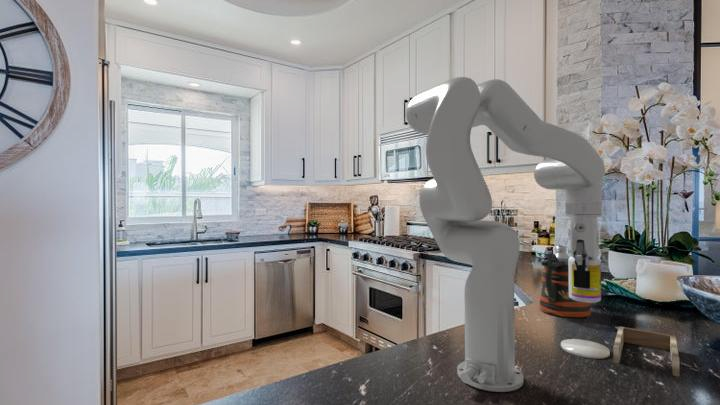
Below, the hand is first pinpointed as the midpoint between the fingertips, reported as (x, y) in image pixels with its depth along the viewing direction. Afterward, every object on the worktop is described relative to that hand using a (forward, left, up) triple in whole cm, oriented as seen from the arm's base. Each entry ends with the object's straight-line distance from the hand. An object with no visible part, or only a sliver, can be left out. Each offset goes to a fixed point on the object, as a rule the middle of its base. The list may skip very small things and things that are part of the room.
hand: (584, 284), depth 88 cm
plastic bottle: (+46, +13, -16) cm, 50 cm away
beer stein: (+30, +10, -16) cm, 35 cm away
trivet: (0, 0, -16) cm, 16 cm away
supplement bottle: (0, 0, -4) cm, 4 cm away
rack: (+4, -11, -16) cm, 20 cm away
